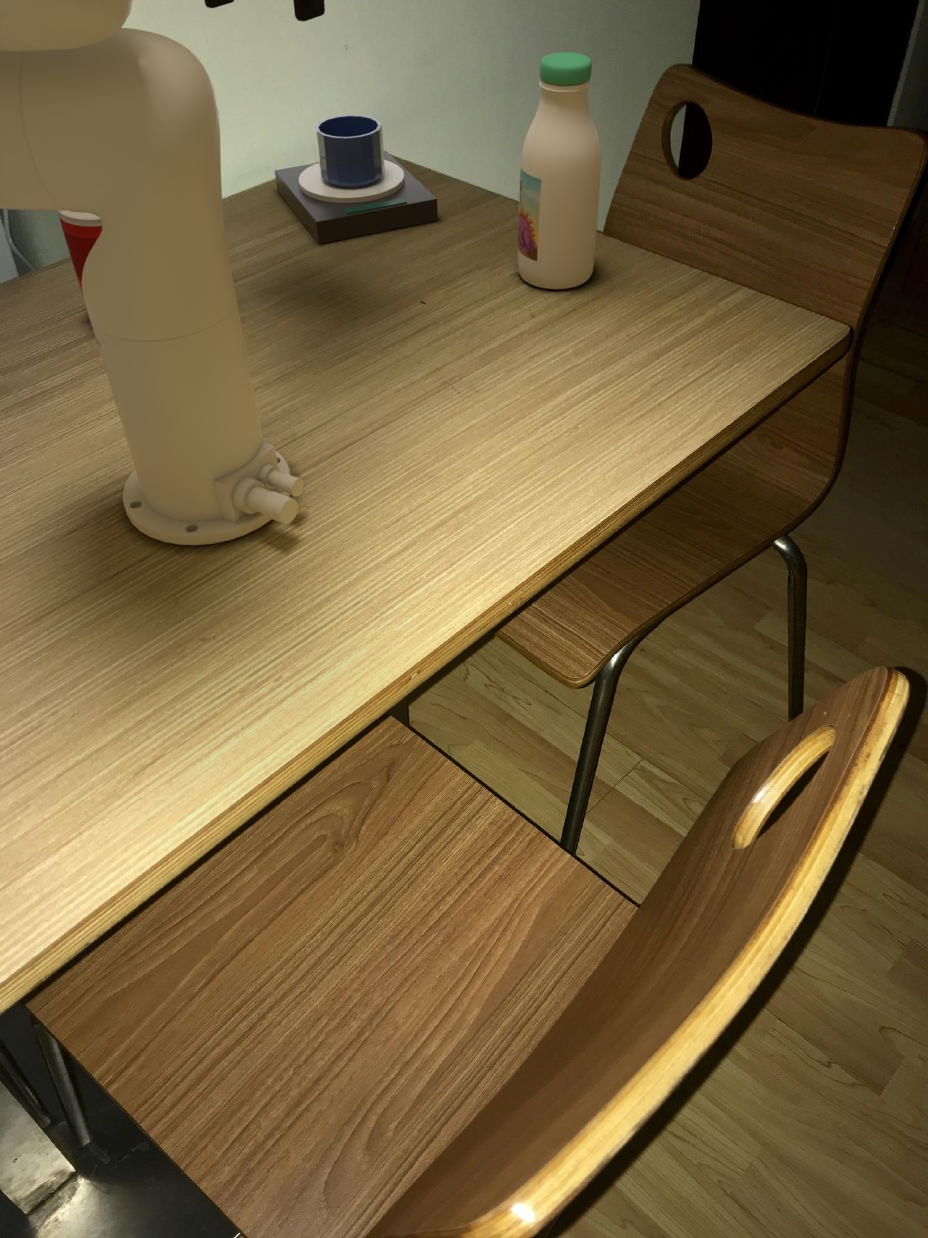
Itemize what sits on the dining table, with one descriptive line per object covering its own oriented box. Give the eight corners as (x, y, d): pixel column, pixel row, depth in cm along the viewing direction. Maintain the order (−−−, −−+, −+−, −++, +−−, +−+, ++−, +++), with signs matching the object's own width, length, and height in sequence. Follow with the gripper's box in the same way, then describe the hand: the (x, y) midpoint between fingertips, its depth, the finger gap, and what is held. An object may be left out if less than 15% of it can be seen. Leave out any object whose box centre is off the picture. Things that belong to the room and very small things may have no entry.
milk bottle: (598, 261, 104) (616, 47, 89) (585, 295, 98) (601, 74, 84) (526, 253, 105) (533, 42, 91) (509, 286, 100) (513, 68, 86)
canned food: (153, 337, 94) (123, 221, 86) (75, 330, 95) (39, 215, 87) (185, 299, 99) (160, 187, 91) (111, 292, 100) (80, 181, 92)
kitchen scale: (438, 220, 111) (437, 191, 109) (319, 244, 107) (315, 214, 105) (387, 171, 122) (385, 144, 120) (277, 191, 118) (273, 163, 116)
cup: (397, 172, 113) (394, 121, 109) (360, 194, 109) (356, 142, 105) (345, 161, 116) (341, 110, 112) (308, 182, 112) (302, 130, 108)
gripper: (105, -260, 73) (157, 8, 84) (291, -259, 66) (319, 33, 78) (176, -264, 77) (216, -9, 89) (357, -263, 71) (374, 13, 82)
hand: (264, 10), depth 83 cm, fingers open, 9 cm apart
